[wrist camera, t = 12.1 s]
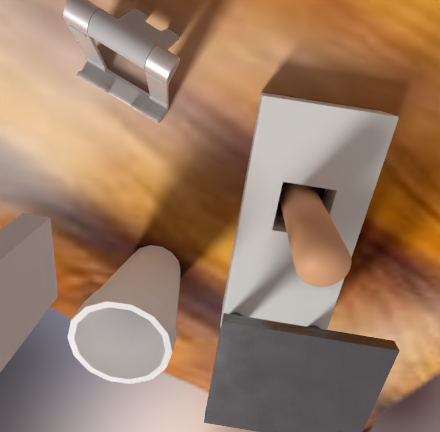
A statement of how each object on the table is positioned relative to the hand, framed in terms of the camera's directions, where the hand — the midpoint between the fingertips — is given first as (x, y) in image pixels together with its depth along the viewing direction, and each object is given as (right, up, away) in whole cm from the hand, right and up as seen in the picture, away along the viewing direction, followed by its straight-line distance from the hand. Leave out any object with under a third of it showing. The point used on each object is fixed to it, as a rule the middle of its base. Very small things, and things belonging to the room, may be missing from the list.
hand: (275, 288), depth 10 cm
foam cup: (-10, -4, +33) cm, 35 cm away
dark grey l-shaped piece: (+5, -7, +29) cm, 30 cm away
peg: (+7, +4, +28) cm, 29 cm away
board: (+6, +1, +29) cm, 30 cm away
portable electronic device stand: (-9, +17, +24) cm, 31 cm away
